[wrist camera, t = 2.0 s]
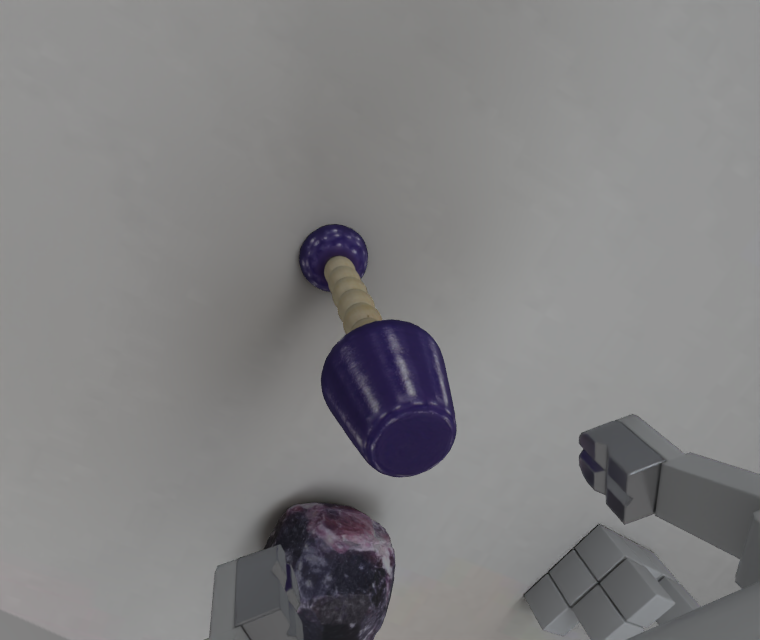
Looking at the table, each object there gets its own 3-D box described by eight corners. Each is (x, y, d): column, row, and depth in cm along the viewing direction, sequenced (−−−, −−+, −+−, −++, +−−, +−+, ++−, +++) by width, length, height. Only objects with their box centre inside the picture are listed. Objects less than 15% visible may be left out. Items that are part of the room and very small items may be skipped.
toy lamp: (371, 290, 29) (487, 477, 15) (301, 304, 29) (350, 517, 14) (362, 218, 27) (487, 356, 13) (285, 231, 26) (324, 395, 12)
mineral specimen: (213, 568, 34) (250, 673, 26) (306, 457, 37) (366, 519, 29) (298, 616, 39) (352, 718, 30) (374, 514, 42) (444, 581, 33)
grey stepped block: (522, 595, 50) (565, 674, 43) (599, 523, 48) (657, 595, 41) (581, 615, 56) (628, 688, 49) (652, 551, 53) (712, 619, 46)
